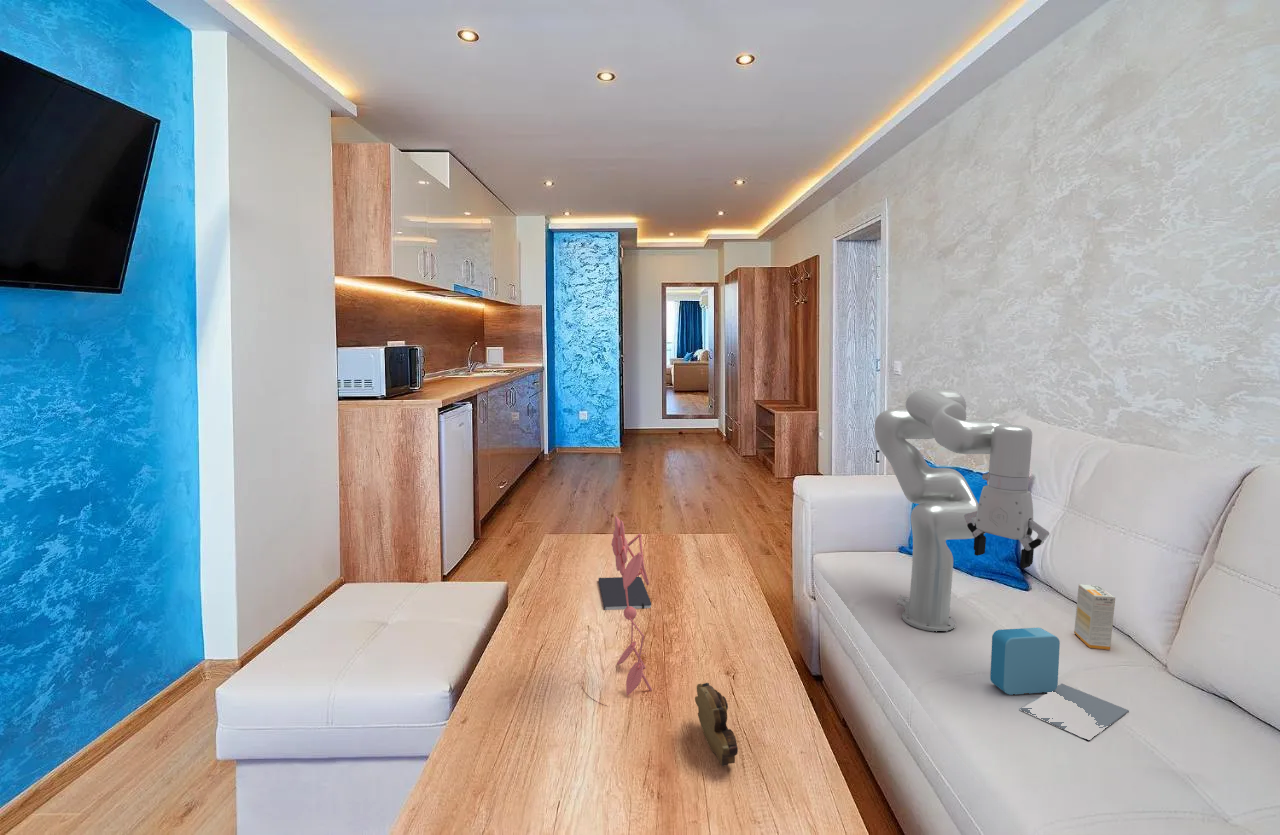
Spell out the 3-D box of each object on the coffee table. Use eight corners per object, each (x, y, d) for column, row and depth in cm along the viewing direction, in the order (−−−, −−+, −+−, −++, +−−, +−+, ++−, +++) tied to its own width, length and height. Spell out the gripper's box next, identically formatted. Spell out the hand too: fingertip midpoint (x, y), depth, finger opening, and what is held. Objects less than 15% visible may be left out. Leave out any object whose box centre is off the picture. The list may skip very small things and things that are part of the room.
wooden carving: (747, 773, 106) (749, 716, 105) (721, 778, 104) (723, 720, 103) (708, 718, 121) (710, 667, 120) (686, 721, 120) (687, 670, 119)
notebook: (598, 582, 191) (604, 612, 170) (598, 577, 191) (604, 606, 170) (640, 581, 193) (651, 610, 172) (640, 576, 193) (652, 604, 172)
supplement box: (1111, 650, 152) (1117, 597, 151) (1088, 648, 153) (1094, 595, 152) (1094, 635, 160) (1099, 584, 159) (1072, 633, 161) (1077, 583, 160)
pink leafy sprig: (643, 649, 148) (643, 500, 144) (662, 713, 123) (662, 534, 119) (576, 654, 146) (574, 503, 142) (581, 719, 121) (579, 538, 117)
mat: (1019, 710, 126) (1019, 708, 126) (1061, 684, 136) (1061, 683, 136) (1088, 741, 116) (1088, 740, 116) (1128, 711, 126) (1129, 710, 126)
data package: (1041, 681, 137) (1044, 626, 136) (1057, 692, 132) (1060, 635, 131) (989, 684, 135) (991, 629, 135) (1004, 695, 131) (1006, 638, 130)
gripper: (959, 477, 143) (953, 552, 144) (1043, 492, 128) (1036, 575, 130) (977, 474, 147) (971, 547, 149) (1060, 488, 133) (1053, 569, 134)
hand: (1001, 560), depth 139 cm, fingers open, 9 cm apart
